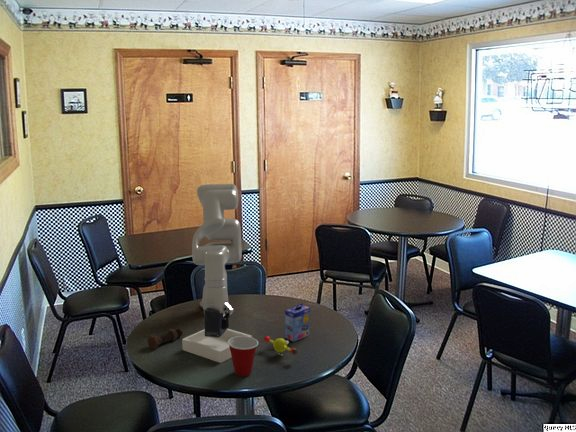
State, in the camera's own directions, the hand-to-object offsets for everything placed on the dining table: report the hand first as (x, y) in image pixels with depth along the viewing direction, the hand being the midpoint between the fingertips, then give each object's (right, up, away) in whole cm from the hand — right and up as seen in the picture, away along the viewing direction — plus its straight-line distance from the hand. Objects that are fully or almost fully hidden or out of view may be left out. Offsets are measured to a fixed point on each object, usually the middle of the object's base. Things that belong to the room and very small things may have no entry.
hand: (216, 325), depth 226 cm
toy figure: (+25, -10, -5) cm, 27 cm away
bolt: (-21, -9, +8) cm, 24 cm away
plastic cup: (+12, -13, -19) cm, 26 cm away
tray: (0, -9, +2) cm, 9 cm away
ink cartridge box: (+31, -7, +12) cm, 34 cm away
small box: (0, -3, +1) cm, 3 cm away
